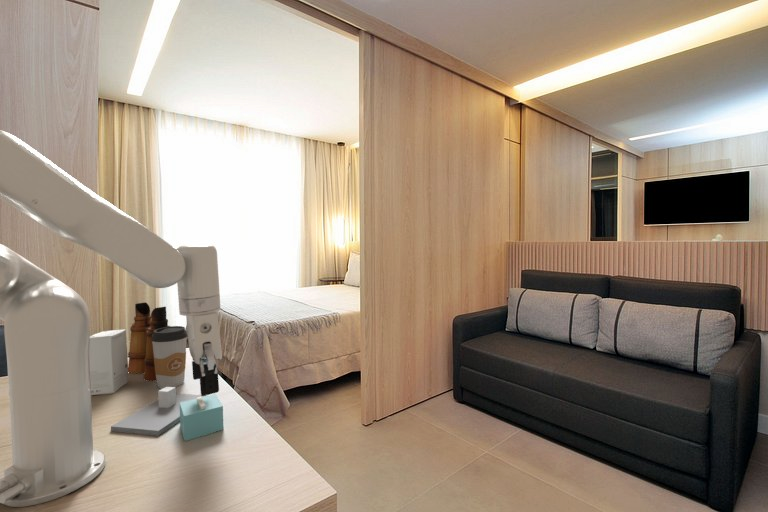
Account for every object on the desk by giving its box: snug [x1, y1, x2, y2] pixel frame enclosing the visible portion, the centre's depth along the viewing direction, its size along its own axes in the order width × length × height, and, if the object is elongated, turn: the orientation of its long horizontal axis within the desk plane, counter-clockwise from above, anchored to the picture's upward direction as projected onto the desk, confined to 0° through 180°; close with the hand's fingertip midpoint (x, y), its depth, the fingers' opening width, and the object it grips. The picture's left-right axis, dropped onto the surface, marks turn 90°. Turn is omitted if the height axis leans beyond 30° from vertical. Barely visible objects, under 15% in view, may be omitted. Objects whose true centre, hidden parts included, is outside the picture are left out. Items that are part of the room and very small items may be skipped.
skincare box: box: [89, 329, 130, 396], centre depth 93 cm, size 8×6×15 cm
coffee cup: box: [151, 325, 188, 389], centre depth 95 cm, size 8×8×15 cm
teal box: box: [179, 393, 224, 442], centre depth 73 cm, size 7×7×6 cm
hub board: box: [110, 386, 207, 437], centre depth 79 cm, size 16×11×5 cm
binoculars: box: [127, 302, 170, 382], centre depth 104 cm, size 18×8×20 cm, turn 57°
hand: (205, 385), depth 74 cm, fingers open, 9 cm apart
